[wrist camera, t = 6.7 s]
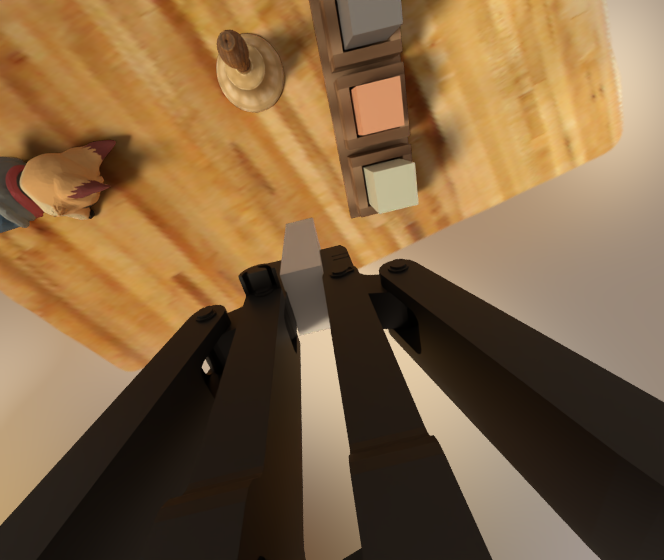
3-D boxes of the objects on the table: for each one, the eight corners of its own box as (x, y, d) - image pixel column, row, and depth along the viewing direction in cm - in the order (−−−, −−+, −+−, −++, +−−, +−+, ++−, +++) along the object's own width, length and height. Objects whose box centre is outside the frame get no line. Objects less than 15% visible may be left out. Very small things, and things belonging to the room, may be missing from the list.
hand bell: (247, 15, 36) (214, -61, 22) (297, 78, 39) (297, 48, 25) (202, 71, 38) (144, 34, 23) (253, 126, 41) (230, 124, 27)
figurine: (10, 265, 42) (150, 228, 41) (-110, 214, 31) (76, 165, 31) (26, 209, 46) (153, 176, 46) (-76, 148, 35) (88, 104, 35)
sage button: (363, 167, 41) (373, 172, 35) (399, 158, 41) (414, 162, 35) (369, 203, 43) (379, 213, 38) (403, 195, 43) (418, 204, 38)
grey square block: (335, -6, 33) (343, -33, 27) (380, -18, 33) (396, -47, 27) (344, 50, 35) (353, 35, 29) (386, 39, 35) (402, 23, 29)
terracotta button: (347, 92, 39) (355, 86, 33) (385, 83, 39) (399, 75, 33) (354, 134, 41) (363, 135, 36) (390, 125, 41) (404, 125, 36)
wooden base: (306, -15, 35) (307, -34, 31) (390, -36, 35) (402, -58, 31) (350, 217, 48) (355, 225, 44) (412, 202, 48) (423, 209, 44)
